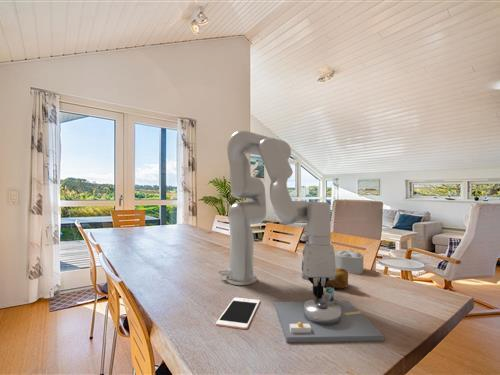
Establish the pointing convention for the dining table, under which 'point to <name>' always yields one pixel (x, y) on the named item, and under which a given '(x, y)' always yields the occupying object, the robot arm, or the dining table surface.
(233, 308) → the cell phone
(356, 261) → the lumpy-topped squat cylinder
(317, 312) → the dial
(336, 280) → the brown irregular lump
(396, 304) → the dining table surface
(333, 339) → the stand
